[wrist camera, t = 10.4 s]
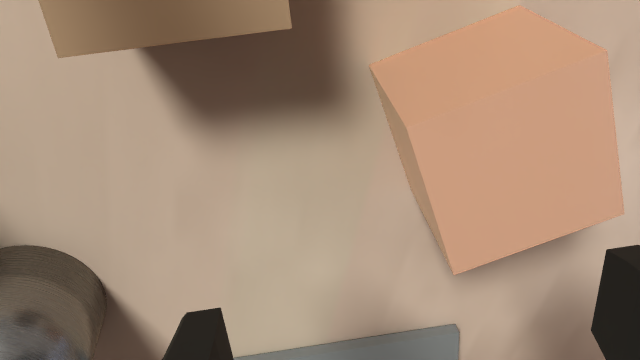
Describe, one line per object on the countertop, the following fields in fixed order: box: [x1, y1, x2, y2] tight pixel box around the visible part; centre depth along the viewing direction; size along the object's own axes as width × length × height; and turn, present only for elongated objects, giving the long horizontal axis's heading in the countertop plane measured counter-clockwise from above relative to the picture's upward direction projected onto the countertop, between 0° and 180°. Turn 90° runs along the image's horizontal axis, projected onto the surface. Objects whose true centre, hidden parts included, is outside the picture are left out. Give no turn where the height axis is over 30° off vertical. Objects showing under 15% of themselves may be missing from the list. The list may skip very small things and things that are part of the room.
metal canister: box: [0, 245, 107, 360], centre depth 19 cm, size 5×5×5 cm
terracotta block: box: [369, 5, 624, 275], centre depth 17 cm, size 5×5×5 cm
